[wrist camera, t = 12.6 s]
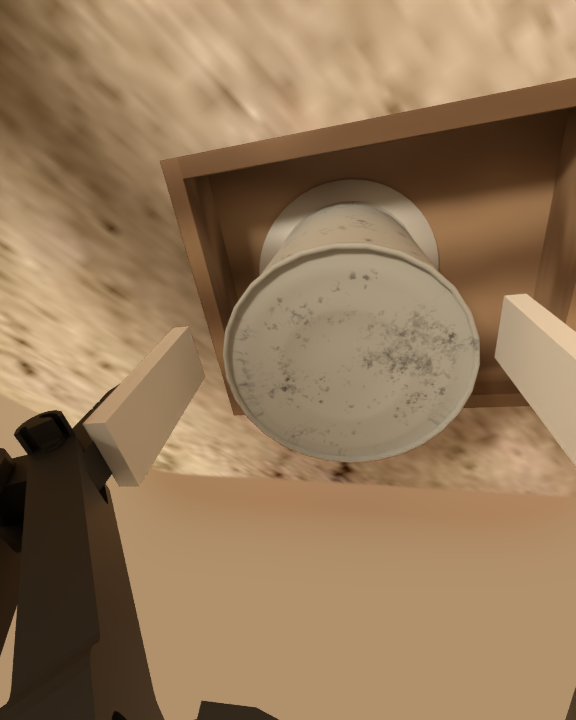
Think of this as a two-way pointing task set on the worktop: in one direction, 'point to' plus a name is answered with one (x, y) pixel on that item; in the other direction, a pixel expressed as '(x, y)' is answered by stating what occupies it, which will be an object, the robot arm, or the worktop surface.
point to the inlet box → (404, 206)
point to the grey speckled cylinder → (351, 340)
